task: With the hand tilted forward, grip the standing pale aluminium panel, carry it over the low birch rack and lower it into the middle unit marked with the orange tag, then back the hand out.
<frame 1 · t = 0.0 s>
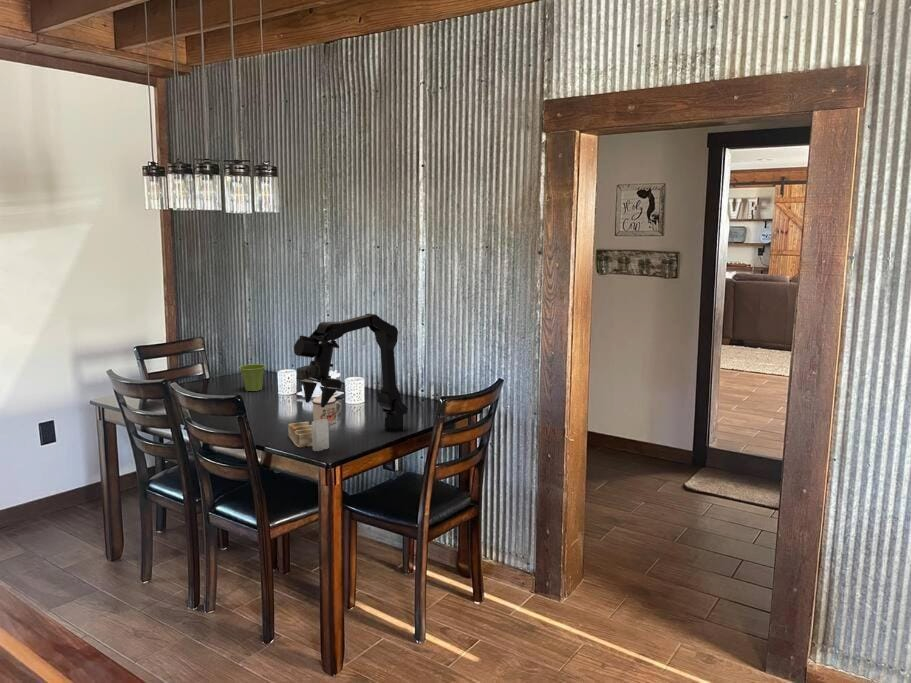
hand: (314, 404, 244), 15 cm above the table, tool pointing down, fingers open, 9 cm apart
teacup with lid: (328, 422, 280), on the table
birch rack: (303, 440, 256), on the table
plant pot: (253, 390, 333), on the table
aluminium panel: (320, 449, 246), on the table
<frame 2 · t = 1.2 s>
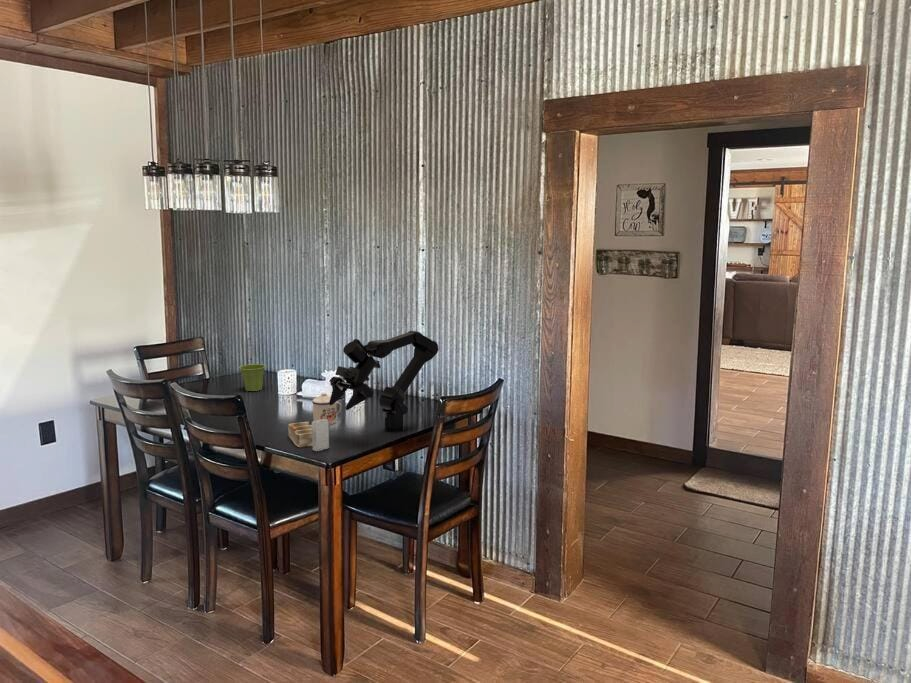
hand: (338, 407, 249), 13 cm above the table, tool tilted 45°, fingers open, 9 cm apart
nothing on the table moved.
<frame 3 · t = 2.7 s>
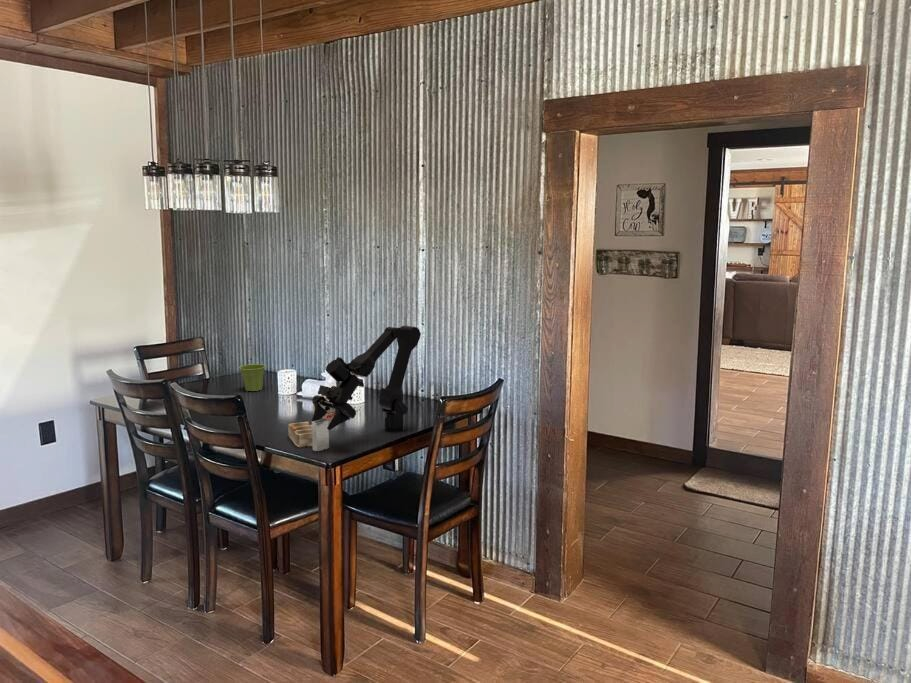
hand: (320, 426, 245), 8 cm above the table, tool tilted 45°, fingers open, 9 cm apart
nothing on the table moved.
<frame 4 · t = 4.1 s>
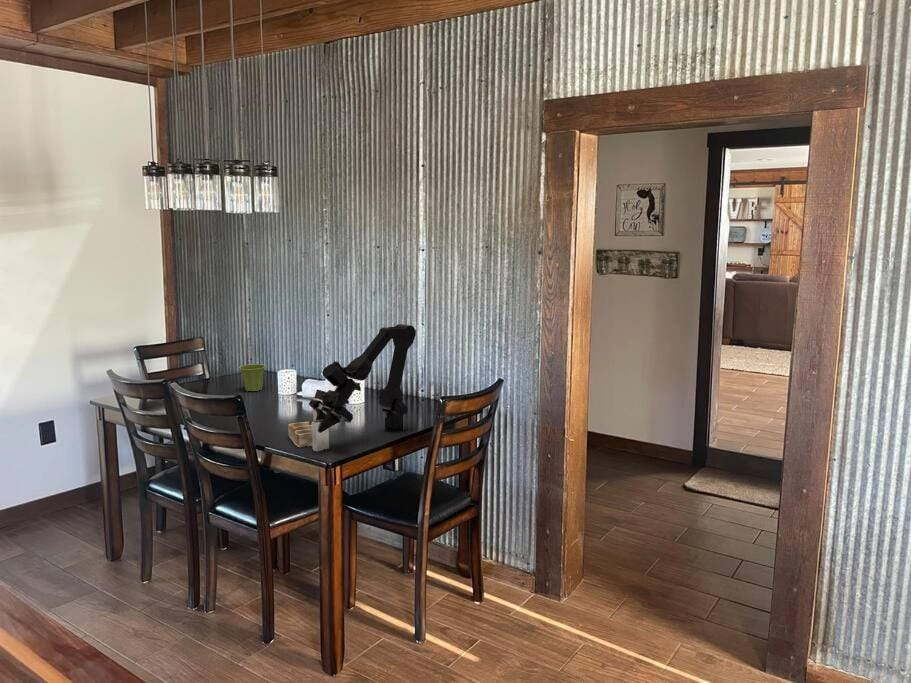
hand: (316, 431, 244), 7 cm above the table, tool tilted 45°, fingers closed on aluminium panel, 2 cm apart
aluminium panel: (320, 449, 246), on the table, touching gripper
everything else where it was.
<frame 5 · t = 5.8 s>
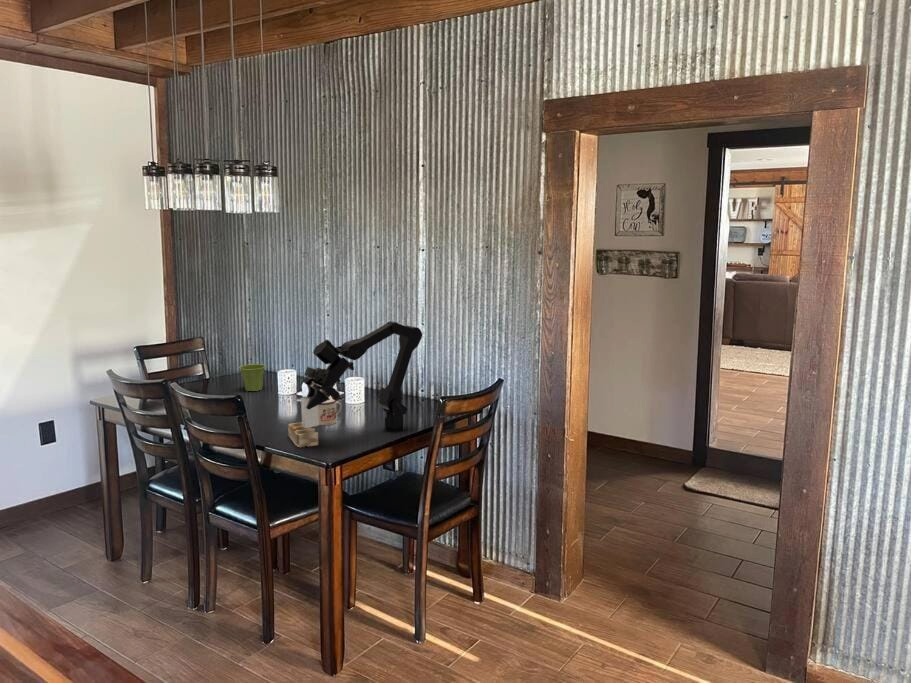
hand: (305, 407, 248), 13 cm above the table, tool tilted 45°, fingers closed on aluminium panel, 2 cm apart
aluminium panel: (310, 425, 250), point 7 cm above the table, touching gripper
everything else where it was.
when the fingers open (9 cm above the table, at t = 7.5 s): aluminium panel drops 1 cm, resting on birch rack.
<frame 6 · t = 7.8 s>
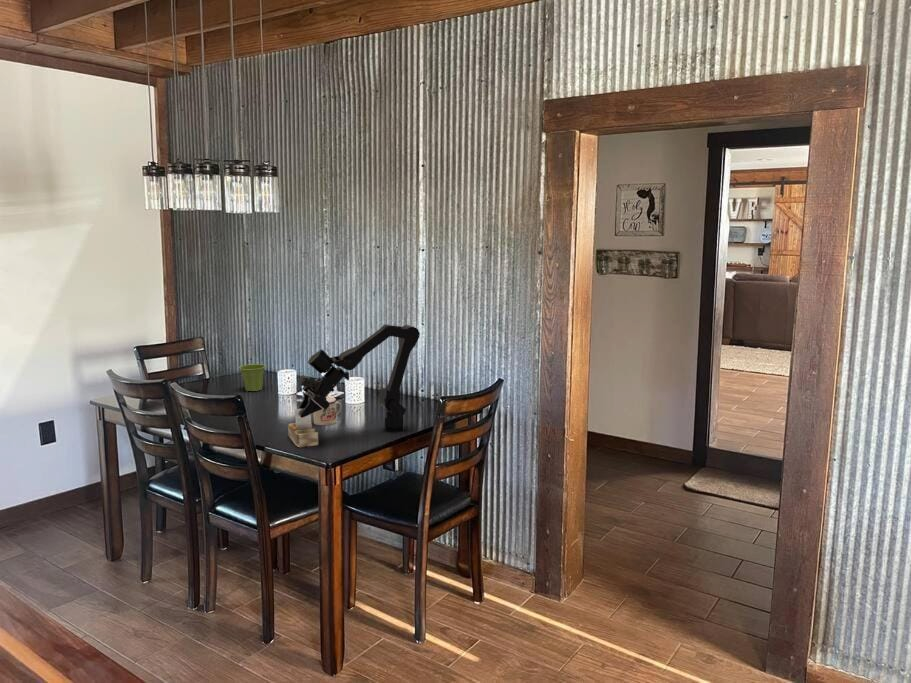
hand: (299, 415, 254), 9 cm above the table, tool tilted 45°, fingers open, 5 cm apart
aluminium panel: (304, 436, 256), point 1 cm above the table, touching birch rack
everything else where it was.
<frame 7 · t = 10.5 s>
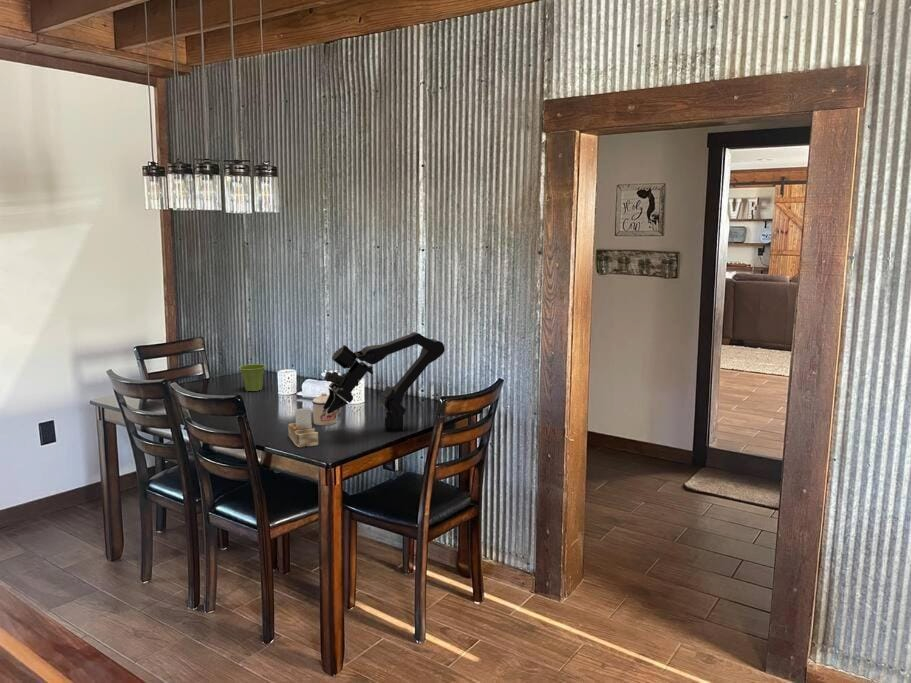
hand: (326, 410, 258), 10 cm above the table, tool tilted 40°, fingers open, 9 cm apart
nothing on the table moved.
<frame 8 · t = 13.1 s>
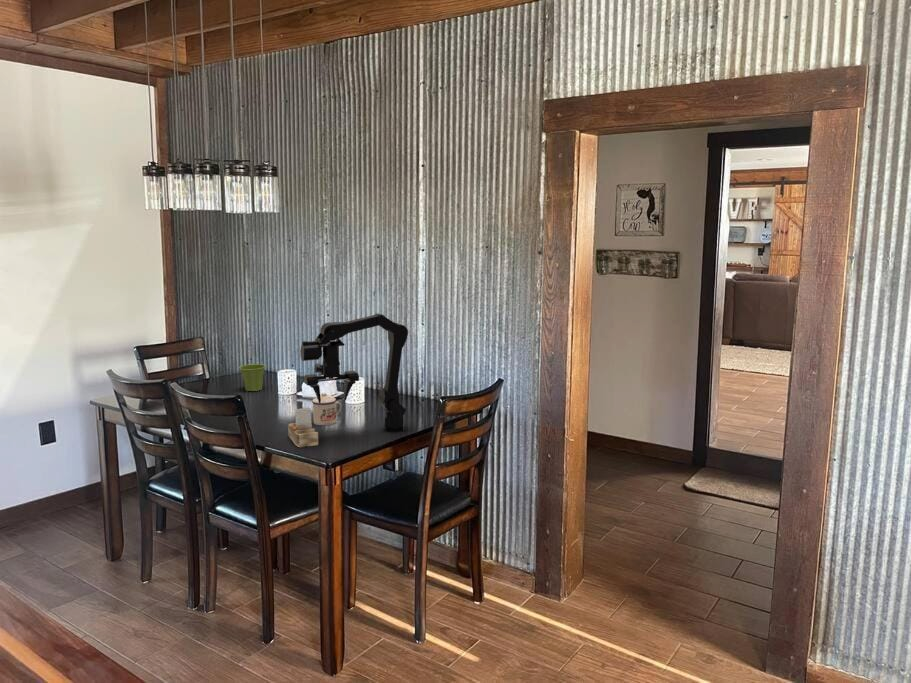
hand: (332, 401, 258), 13 cm above the table, tool pointing down, fingers open, 9 cm apart
nothing on the table moved.
at the end: aluminium panel 0.0 cm off-centre on the birch rack, point 1.3 cm above the birch rack's base; aluminium panel tilted 0°; the gripper is holding nothing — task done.
